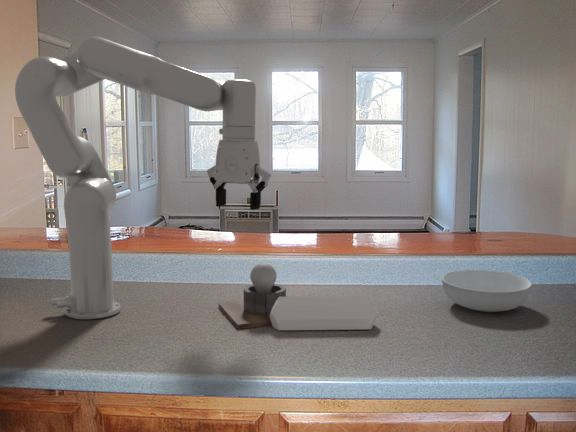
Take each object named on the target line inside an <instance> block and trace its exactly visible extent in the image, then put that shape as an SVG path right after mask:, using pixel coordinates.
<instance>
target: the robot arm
mask: <svg viewBox="0 0 576 432" xmlns="http://www.w3.org/2000/svg"><path fill="white" fill-rule="evenodd" d="M103 80H106V81H110V82H113V83H116V84H119V85H121V86H124V87H127V88H131V89H133V90H134V91H135V90H136V91H138V92H141V93H144V94H149V95H154V96H158V97H160V98H164V99H167V100H170V101H172V102H175V103H177V104H178V103H179V104H181V105H184V106H187V107H190V108H192V109H196V110H197V111H198V110H199V111H202V112H213V111H214V112H215V111H222V128H219V130H218V133H219V135H221V137H222V139H219V141H218V144H217V147H216V148H217V149H216V154H215V155H216V156H215V165H214V166H211V167H209V168H208V169H207V170H206V173H207V175H208V177H209V182H210V183H211V185H212V187H213V189H214V190H215V205H216V207H221V206H226V204H227V189H226V188H225V187H226V185H227V184H235V185H236V184H239V185H248V186H249V188H250V190H252V192H250V194H249V202H250V203H249V209H250V210H251V211H254V210H260V208H261V204H262V201H261V200H262V198H261V197H262V194H261V193H262V192H263V191H264V189H265V188H266V187H267V186H268V185H269V184H268V183H269V181H270V180H271V178H272V174H271V173H270V172H268V170H265V169H264V168H263V167H262V166H261V162H260V150H259V145H258V141H257V140H255V139H256V103H257V102H256V99H257V98H256V96H257V94H256V92H257V91H256V90H257V88H256V84H255V82H254V81H252V80H248V79H227V80H216V79H214V78H212V77H210V76H207V75H204V74H202V73H198V72H197V71H193V70H190V69H187V68H185V67H181V66H179V65H176V64H174V63H171V62H168V61H165V60H163V59H161V58H160V57H158V56H154V55H152V54H149V53H147V52H144V51H140V50H137V49H134V48H131V47H129V46H126V45H123V44H120V43H119V42H118V43H117V42H115V41H112V40H110V39H107V38H104V37H100V36H96V35H95V36H94V35H93V36H88V37H86V38H84V39H83V40H82V41H80V43H79V44H78V46H77V50H76V52H73V53H71V54H69V55H67V56H64V57H62V58H59V59H58V58H56V57H52V56H42V55H41V56H36V57H34V58H32V59H30V60H29V61H28V62H26V63H25V65H24V66H23V67H22V68H21V70H20V71H19V73H18V75H17V77H16V81H15V86H14V95H15V102H16V104H17V107H18V110H19V112H20V114H21V116H22V119H23V120H24V122H25V124H26V126H27V128H28V129H29V132H30V134H31V136H32V138H33V140H34V142H35V143H36V146H37V147H38V149H39V152H40V154H41V156H42V157H43V159H44V161H45V163H46V165H47V168H48V169H49V171H50V172H51V173H52V174H53V175H55V176H56V177H58V178H64V179H66V180H67V182H68V183H69V186H70V187H69V188H68V189H67V191H66V193H65V196H64V199H63V210H64V211H63V212H64V216H65V222H66V230H67V238H68V241H67V242H68V256H69V273H70V292H69V295H66V296H65V297H61V298H60V297H55V298H51V303H50V304H51V307H52V308H53V307H56V308H57V309H60V308H62V309H63V308H65V310H64V312H65V316H66V317H68V318H71V319H75V320H96V319H103V318H108V317H111V316H115V315H116V314H118V313H119V312H121V308H122V307H121V303H119V302H117V301H114V297H115V296H114V279H113V276H114V275H113V258H112V254H113V252H112V240H111V239H112V237H111V235H112V233H111V227H110V221H109V220H110V219H109V211H110V210H112V208H113V207H114V206H115V204H116V200H117V191H116V187H115V184H114V182H113V180H112V179H111V177H110V175H109V173H108V170H107V169H106V167H105V166H104V163H103V162H102V159H101V157H100V155H99V154H98V152H97V150H96V148H95V147H94V146H93V145H92V143H91V142H90V141H89V140H87V139H86V138H84V137H82V136H80V135H79V136H78V135H76V133H75V132H74V130H73V128H72V126H71V125H70V122H69V119H68V118H67V116H66V114H65V112H64V111H63V109H62V108H61V106H60V105H59V103H58V101H57V97H66V96H69V95H72V94H75V93H77V92H79V91H82V90H84V89H86V88H89V87H91V86H93V85H95V84H97V83H99V82H100V83H101V82H102V81H103ZM260 177H261V181H260Z"/></svg>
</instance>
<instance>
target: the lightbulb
mask: <svg viewBox="0 0 576 432" xmlns="http://www.w3.org/2000/svg"><path fill="white" fill-rule="evenodd" d="M249 278H250V282H251V283H252V285H254V287H255V289H256V293H271V289H272V287H273V285H274V284H276V281H277V271H276V270H275V268H274V266H273V265H271V264H270V263H267V262H260V263H258V264H256V265H254V266H253V267H252V269H251V272H250V277H249Z"/></svg>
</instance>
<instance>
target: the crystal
mask: <svg viewBox="0 0 576 432" xmlns="http://www.w3.org/2000/svg"><path fill="white" fill-rule="evenodd" d="M269 316H270V320H271V323H272V325H271V326H272V327H273V329H275V330H277V331H328V330H329V331H338V330H339V331H340V330H342V331H343V330H345V331H346V330H352V331H355V330H372V329H373V327H374V326H375V324H376V322H377V319H378V316H379V314H378V312H377V309H376V308H375V306H374V304H373V302H372V300H371V299H370V296H369V295H334V296H333V295H329V296H328V295H322V296H320V295H316V296H315V295H314V296H313V295H312V296H306V295H304V296H300V295H299V296H289V297H279V298H278V299H277V300H276V302H275V304H274V306H273V308H272V310H271V313H270V315H269Z"/></svg>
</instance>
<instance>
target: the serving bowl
mask: <svg viewBox="0 0 576 432" xmlns="http://www.w3.org/2000/svg"><path fill="white" fill-rule="evenodd" d="M441 282H442V289H443V291H444V293H445V295H446V296H447V297H448V299H450V300H451V301H452V302H453V303H454V304H456V305H458V306H461V307H464V308H467V309H470V310H471V311H476V312H484V313H495V312H496V313H497V312H504V311H511V310H514V309H516V308H518V307H520V306H522V305H523V304H524V303H525V302H526V301H527V300H528V298H529V297H530V295H531V292H532V288H533V287H532V286H533V284H532V281H530V279H528V278H526V277H523V276H521V275H518V274H515V273H509V272H504V271H498V270H497V271H496V270H491V269H490V270H489V269H488V270H487V269H462V270H453V271H449V272H446V273H445V274H443V275H442V277H441Z"/></svg>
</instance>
